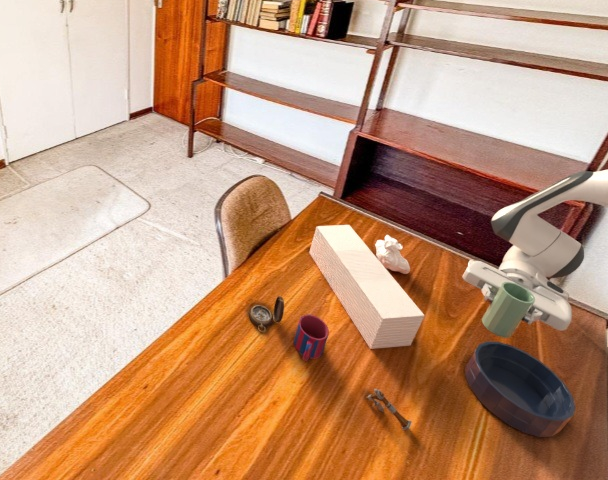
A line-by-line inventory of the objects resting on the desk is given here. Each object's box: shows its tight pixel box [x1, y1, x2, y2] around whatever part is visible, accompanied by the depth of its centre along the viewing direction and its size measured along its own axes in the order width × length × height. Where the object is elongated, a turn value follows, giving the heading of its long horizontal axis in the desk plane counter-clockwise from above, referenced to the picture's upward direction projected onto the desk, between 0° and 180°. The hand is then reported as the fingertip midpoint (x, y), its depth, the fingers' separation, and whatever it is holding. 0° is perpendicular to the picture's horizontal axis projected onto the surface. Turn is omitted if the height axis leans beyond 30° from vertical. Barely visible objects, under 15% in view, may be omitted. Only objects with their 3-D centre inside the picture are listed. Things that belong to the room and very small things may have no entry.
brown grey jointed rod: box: [365, 388, 413, 431], centre depth 82 cm, size 2×8×4 cm, turn 46°
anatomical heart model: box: [374, 234, 411, 275], centre depth 119 cm, size 12×8×11 cm
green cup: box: [481, 282, 535, 339], centre depth 94 cm, size 6×6×12 cm
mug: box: [293, 314, 330, 362], centre depth 93 cm, size 7×10×7 cm
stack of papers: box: [309, 224, 426, 350], centre depth 108 cm, size 32×11×11 cm, turn 6°
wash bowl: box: [464, 341, 576, 438], centre depth 86 cm, size 16×16×6 cm
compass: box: [248, 295, 285, 333], centre depth 100 cm, size 8×8×7 cm
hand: (507, 310), depth 94 cm, fingers closed on green cup, 6 cm apart
